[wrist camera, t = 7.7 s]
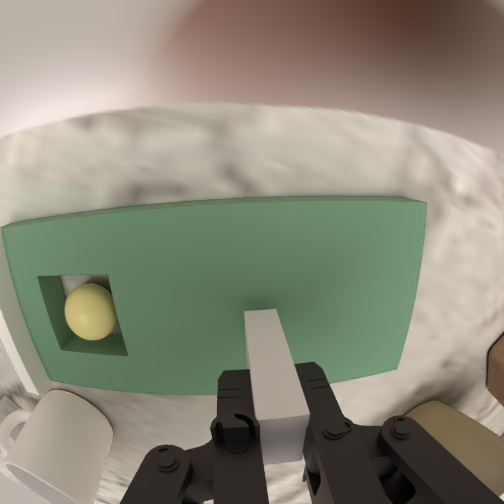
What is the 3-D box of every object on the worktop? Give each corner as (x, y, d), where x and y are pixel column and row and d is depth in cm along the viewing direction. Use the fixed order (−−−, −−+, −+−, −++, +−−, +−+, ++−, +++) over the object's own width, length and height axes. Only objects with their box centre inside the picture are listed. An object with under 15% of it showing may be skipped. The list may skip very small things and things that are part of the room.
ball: (109, 317, 18) (67, 335, 15) (98, 271, 17) (52, 286, 14) (133, 336, 16) (85, 358, 13) (120, 283, 15) (66, 303, 12)
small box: (2, 409, 21) (-12, 431, 16) (5, 392, 20) (-13, 417, 15) (35, 435, 22) (22, 460, 17) (40, 422, 21) (26, 449, 16)
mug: (33, 417, 21) (1, 476, 11) (10, 365, 18) (-38, 428, 9) (121, 448, 22) (101, 524, 12) (107, 400, 20) (70, 492, 10)
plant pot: (354, 415, 22) (414, 551, 7) (472, 352, 22) (556, 439, 6) (358, 472, 26) (392, 562, 11) (451, 425, 26) (499, 497, 11)
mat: (50, 360, 18) (27, 392, 14) (10, 223, 15) (-29, 238, 11) (383, 350, 20) (409, 385, 16) (405, 197, 16) (448, 208, 12)
